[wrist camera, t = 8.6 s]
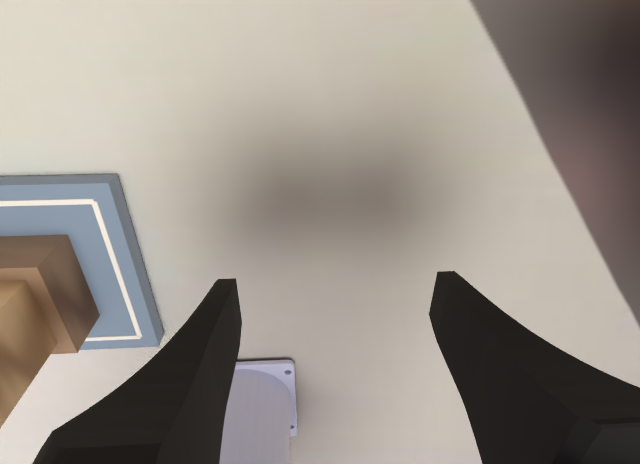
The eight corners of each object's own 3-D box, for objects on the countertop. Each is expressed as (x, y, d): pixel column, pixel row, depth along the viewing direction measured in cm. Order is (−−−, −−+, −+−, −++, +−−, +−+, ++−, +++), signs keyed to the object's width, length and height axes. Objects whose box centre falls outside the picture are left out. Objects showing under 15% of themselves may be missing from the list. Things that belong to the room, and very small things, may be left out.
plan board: (164, 333, 27) (144, 384, 24) (-15, 340, 26) (-63, 394, 23) (117, 174, 21) (80, 211, 17) (-118, 178, 20) (-207, 218, 17)
